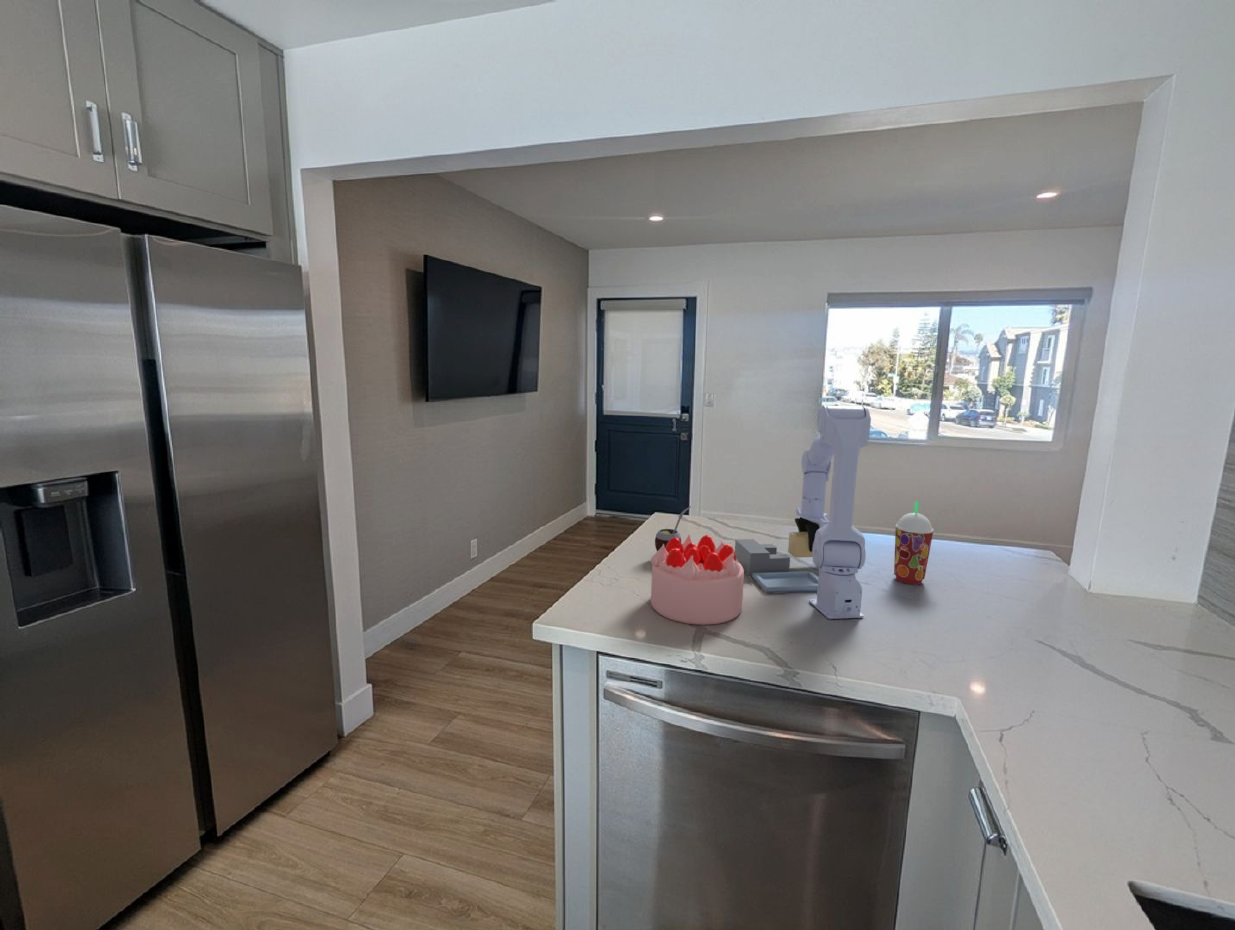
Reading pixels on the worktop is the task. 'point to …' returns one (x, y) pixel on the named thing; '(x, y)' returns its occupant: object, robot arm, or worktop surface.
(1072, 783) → the worktop surface
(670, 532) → the mate gourd
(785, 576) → the tray
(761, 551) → the dock
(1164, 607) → the worktop surface
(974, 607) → the worktop surface
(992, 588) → the worktop surface
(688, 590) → the cake
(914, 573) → the smoothie
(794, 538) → the tan block with handle
